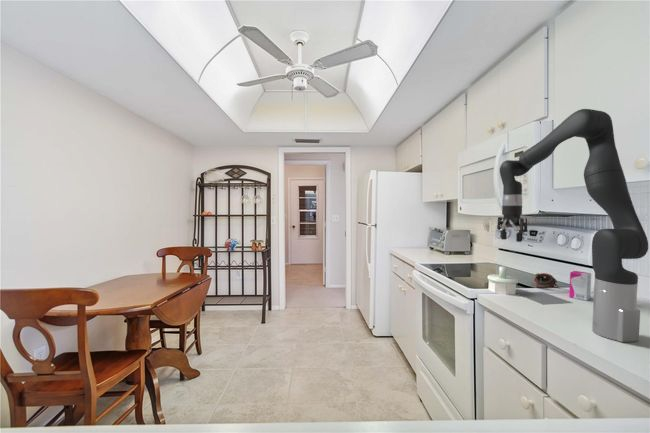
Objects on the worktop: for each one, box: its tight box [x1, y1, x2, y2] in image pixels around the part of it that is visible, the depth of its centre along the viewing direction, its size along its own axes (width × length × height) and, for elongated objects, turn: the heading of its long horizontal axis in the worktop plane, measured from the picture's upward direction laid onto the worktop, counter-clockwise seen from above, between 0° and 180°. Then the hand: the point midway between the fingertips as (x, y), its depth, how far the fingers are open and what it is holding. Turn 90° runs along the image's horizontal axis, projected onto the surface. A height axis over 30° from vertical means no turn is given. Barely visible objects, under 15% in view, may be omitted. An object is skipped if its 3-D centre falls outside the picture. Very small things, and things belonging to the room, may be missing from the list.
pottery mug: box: [533, 272, 559, 288], centre depth 136 cm, size 12×10×8 cm
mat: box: [514, 291, 574, 306], centre depth 120 cm, size 14×14×1 cm
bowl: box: [487, 280, 517, 296], centre depth 130 cm, size 11×11×5 cm
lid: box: [487, 265, 519, 285], centre depth 129 cm, size 12×12×6 cm
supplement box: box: [568, 270, 592, 302], centre depth 120 cm, size 6×6×12 cm
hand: (511, 240), depth 127 cm, fingers open, 8 cm apart
